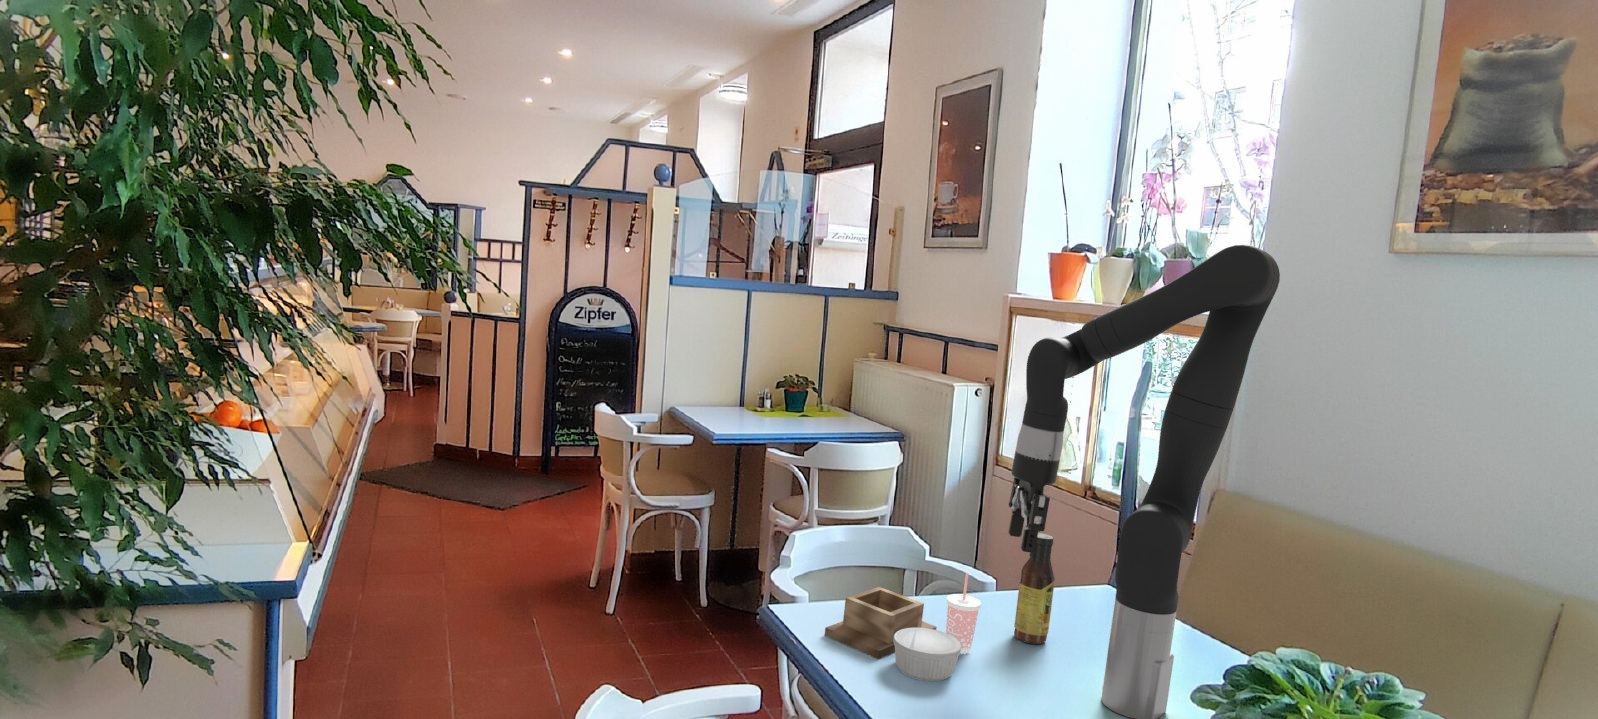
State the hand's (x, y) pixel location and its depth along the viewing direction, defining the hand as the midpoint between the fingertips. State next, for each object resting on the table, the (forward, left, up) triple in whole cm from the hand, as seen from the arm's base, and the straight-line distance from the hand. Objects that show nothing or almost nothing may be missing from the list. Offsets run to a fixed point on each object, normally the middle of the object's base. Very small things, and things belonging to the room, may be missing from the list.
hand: (1020, 543), depth 158 cm
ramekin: (+7, +15, -22) cm, 27 cm away
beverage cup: (+8, +3, -22) cm, 23 cm away
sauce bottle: (+2, -13, -22) cm, 25 cm away
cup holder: (+20, +10, -21) cm, 31 cm away
